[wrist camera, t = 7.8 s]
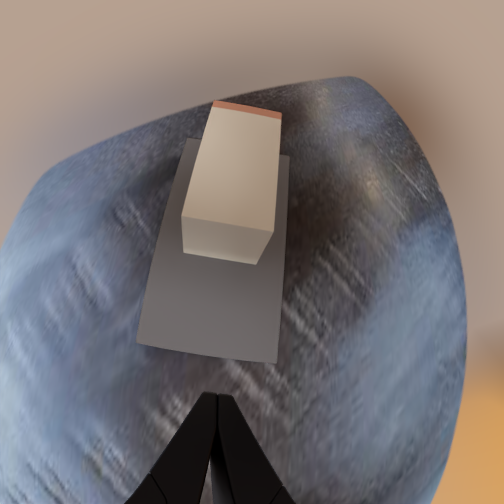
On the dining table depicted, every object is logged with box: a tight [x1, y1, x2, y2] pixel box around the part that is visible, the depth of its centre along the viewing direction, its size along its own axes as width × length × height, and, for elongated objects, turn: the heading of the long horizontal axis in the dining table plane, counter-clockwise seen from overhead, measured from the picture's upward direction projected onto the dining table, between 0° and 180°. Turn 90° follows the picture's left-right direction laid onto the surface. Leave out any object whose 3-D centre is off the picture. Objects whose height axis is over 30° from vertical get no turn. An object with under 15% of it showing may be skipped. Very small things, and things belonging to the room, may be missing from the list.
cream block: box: [181, 100, 282, 265], centre depth 20 cm, size 5×5×10 cm
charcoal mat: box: [136, 138, 290, 364], centre depth 21 cm, size 17×9×1 cm, turn 174°
